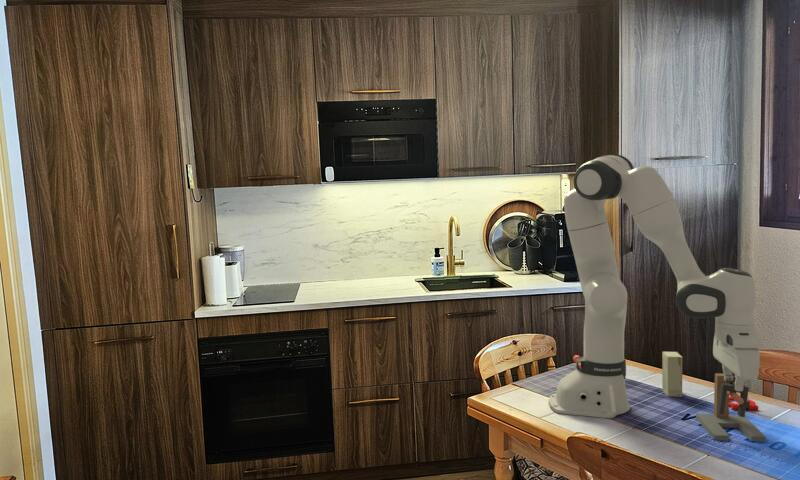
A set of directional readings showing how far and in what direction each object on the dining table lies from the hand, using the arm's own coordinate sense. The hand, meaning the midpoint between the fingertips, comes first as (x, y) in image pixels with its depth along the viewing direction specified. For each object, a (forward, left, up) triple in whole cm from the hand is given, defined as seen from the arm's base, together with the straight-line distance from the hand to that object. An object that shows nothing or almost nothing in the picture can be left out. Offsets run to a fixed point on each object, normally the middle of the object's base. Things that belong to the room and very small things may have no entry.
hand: (733, 386), depth 155 cm
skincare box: (-7, +28, -12) cm, 31 cm away
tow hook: (+9, +20, -12) cm, 25 cm away
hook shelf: (0, +2, -12) cm, 12 cm away
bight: (-1, 0, -7) cm, 7 cm away
